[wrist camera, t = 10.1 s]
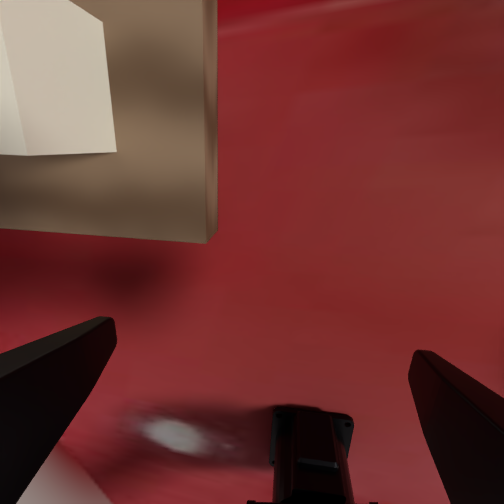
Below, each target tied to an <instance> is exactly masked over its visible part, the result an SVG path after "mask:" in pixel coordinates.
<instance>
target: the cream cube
mask: <svg viewBox="0 0 504 504" xmlns="http://www.w3.org/2000/svg"><path fill="white" fill-rule="evenodd" d="M106 152H117V150H116V141H115V132H114V123H113V114H112V105H111V96H110V86H109V77H108V68H107V59H106V50H105V41H104V32H103V22H102V21H100V20H98V19H97V18H95V17H94V16H92V15H91V14H89V13H88V12H86V11H85V10H83V9H82V8H80V7H78V6H77V5H75V4H74V3H72V2H71V1H69V0H0V154H3V155H24V156H33V155H57V154H82V153H106Z"/></svg>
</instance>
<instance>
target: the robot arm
mask: <svg viewBox="0 0 504 504" xmlns="http://www.w3.org/2000/svg"><path fill="white" fill-rule="evenodd" d="M116 344H117V336H116V328H115V322H114V319H113V318H111V317H103V316H99V317H96V318H93V319H91V320H88V321H86V322H83V323H80V324H78V325H75V326H72V327H70V328H67V329H65V330H62V331H59V332H57V333H54V334H51V335H49V336H46V337H44V338H41V339H38V340H36V341H33V342H30V343H28V344H25V345H23V346H20V347H17V348H15V349H12V350H9V351H7V352H4V353H2V354H0V504H16V503H17V501H18V500H19V498H20V497H21V495H22V494H23V492H24V491H25V489H26V488H27V486H28V485H29V484H30V482H31V480H32V479H33V478H34V476H35V474H36V473H37V472H38V470H39V469H40V467H41V466H42V464H43V463H44V461H45V460H46V458H47V457H48V455H49V454H50V452H51V451H52V449H53V448H54V446H55V445H56V443H57V442H58V441H59V439H60V438H61V436H62V435H63V433H64V432H65V430H66V429H67V427H68V426H69V424H70V423H71V421H72V420H73V418H74V417H75V415H76V414H77V412H78V411H79V409H80V408H81V406H82V405H83V403H84V402H85V401H86V399H87V397H88V396H89V394H90V393H91V391H92V389H93V388H94V386H95V384H96V383H97V381H98V379H99V377H100V375H101V373H102V371H103V370H104V368H105V366H106V364H107V362H108V360H109V359H110V357H111V355H112V353H113V351H114V349H115V347H116ZM408 380H409V384H410V388H411V392H412V395H413V399H414V402H415V406H416V409H417V413H418V417H419V420H420V424H421V427H422V430H423V434H424V437H425V439H426V442H427V445H428V447H429V450H430V452H431V455H432V457H433V460H434V462H435V465H436V467H437V470H438V473H439V475H440V478H441V480H442V483H443V485H444V488H445V490H446V493H447V495H448V498H449V500H450V503H451V504H504V398H503V397H501V396H500V395H498V394H496V393H495V392H493V391H492V390H490V389H489V388H487V387H486V386H484V385H483V384H481V383H480V382H478V381H477V380H475V379H474V378H472V377H471V376H469V375H468V374H466V373H464V372H463V371H461V370H460V369H458V368H457V367H455V366H454V365H452V364H451V363H449V362H448V361H446V360H445V359H443V358H442V357H440V356H439V355H437V354H436V353H434V352H432V351H427V350H416V351H415V352H414V354H413V357H412V361H411V365H410V369H409V373H408ZM278 413H280V414H278ZM346 422H349V423H346ZM353 428H354V422H353V419H352V417H350V416H345V415H337V414H330V413H322V412H314V411H306V410H299V409H291V408H283V407H276V408H275V409H274V410H273V420H272V432H271V445H270V457H269V463H270V465H272V466H274V480H273V499H272V502H256V501H255V500H248V501H247V504H355V502H354V497H353V491H352V485H351V480H350V474H349V468H348V463H347V458H348V453H349V448H350V443H351V438H352V433H353ZM369 504H378V502H369Z"/></svg>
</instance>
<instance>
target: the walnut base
mask: <svg viewBox="0 0 504 504" xmlns="http://www.w3.org/2000/svg"><path fill="white" fill-rule="evenodd" d="M69 1H71V2H72V3H74V4H75V5H77V6H78V7H80V8H82V9H83V10H85V11H86V12H88V13H89V14H91V15H92V16H94V17H95V18H97V19H98V20H100V21H102V22H103V32H104V41H105V50H106V59H107V68H108V77H109V86H110V96H111V105H112V114H113V123H114V132H115V141H116V150H117V152H106V153H82V154H57V155H33V156H24V155H3V154H0V228H5V229H18V230H31V231H45V232H58V233H71V234H85V235H98V236H111V237H125V238H138V239H151V240H165V241H178V242H191V243H205V244H206V243H207V242H208V241H209V240H210V238H211V237H212V236H213V235H214V234H215V233H216V232H217V230H218V140H217V0H69Z"/></svg>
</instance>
